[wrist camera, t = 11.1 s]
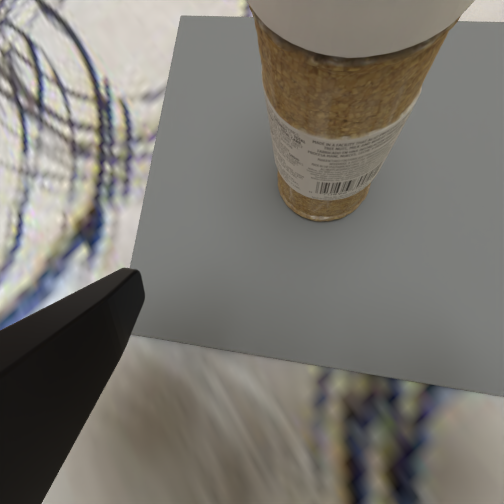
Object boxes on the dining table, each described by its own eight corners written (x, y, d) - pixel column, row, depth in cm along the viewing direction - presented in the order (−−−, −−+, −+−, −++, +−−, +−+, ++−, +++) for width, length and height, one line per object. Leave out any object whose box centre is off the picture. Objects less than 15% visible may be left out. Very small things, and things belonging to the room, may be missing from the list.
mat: (505, 395, 16) (512, 398, 15) (121, 331, 18) (116, 331, 18) (517, 30, 19) (523, 22, 18) (183, 22, 21) (180, 15, 21)
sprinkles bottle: (366, 134, 18) (547, -351, 5) (372, 223, 17) (603, -72, 4) (275, 140, 19) (217, -279, 6) (276, 226, 18) (211, -25, 5)
